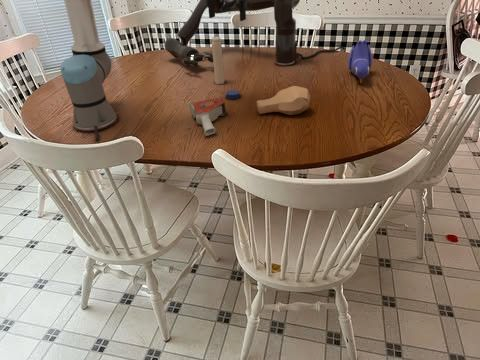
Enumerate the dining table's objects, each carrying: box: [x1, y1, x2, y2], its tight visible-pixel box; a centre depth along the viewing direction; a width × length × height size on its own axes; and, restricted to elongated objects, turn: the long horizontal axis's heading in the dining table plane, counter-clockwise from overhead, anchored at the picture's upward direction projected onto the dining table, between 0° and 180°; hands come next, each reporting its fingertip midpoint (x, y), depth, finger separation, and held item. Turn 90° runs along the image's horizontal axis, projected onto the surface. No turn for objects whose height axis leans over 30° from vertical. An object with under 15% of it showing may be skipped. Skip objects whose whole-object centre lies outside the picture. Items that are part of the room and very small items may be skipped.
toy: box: [347, 39, 373, 84], centre depth 152 cm, size 10×17×25 cm
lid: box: [226, 89, 240, 100], centre depth 145 cm, size 5×5×2 cm
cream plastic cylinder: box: [211, 36, 225, 85], centre depth 154 cm, size 4×4×19 cm
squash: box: [255, 85, 312, 116], centre depth 130 cm, size 11×20×9 cm, turn 92°
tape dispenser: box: [188, 97, 226, 137], centre depth 128 cm, size 18×5×20 cm
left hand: (227, 18), depth 128 cm, fingers open, 13 cm apart
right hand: (205, 62), depth 164 cm, fingers open, 8 cm apart
